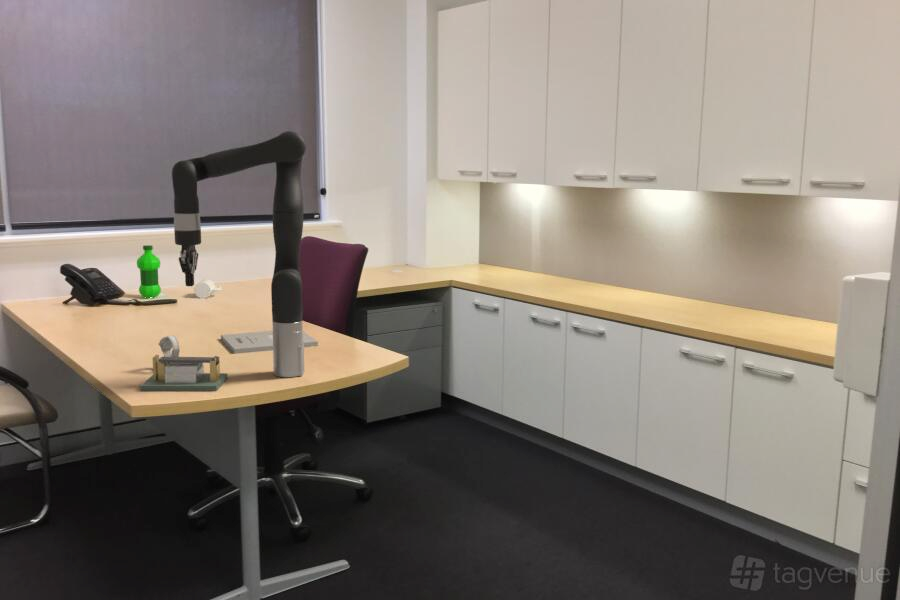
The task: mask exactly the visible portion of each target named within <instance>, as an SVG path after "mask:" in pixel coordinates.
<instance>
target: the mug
mask: <svg viewBox="0 0 900 600" xmlns="http://www.w3.org/2000/svg"><path fill="white" fill-rule="evenodd" d="M193 289H194V290H193V291H194V295H195V296H196V297H197V298H199V299H207V298H209V296H211V295H212V294H213V293H214V292H220V291H222V289H223V288H222V287H221V286H216V285H215V283H214V281H212V280H211V279H206V278H204V279H202V280H201V281H199V282H198V283H196V285H194V288H193Z"/></svg>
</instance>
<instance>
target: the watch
mask: <svg viewBox="0 0 900 600" xmlns="http://www.w3.org/2000/svg"><path fill="white" fill-rule="evenodd" d="M158 346H159V347H160V349H161V352H162V354H163V357H180V356H179V355H180V345H179V340H178V338H177V337H176V336H175V335H166V336H164V337H162V338H161V339H160V340H159V343H158ZM169 363H171V362H168V364H169Z"/></svg>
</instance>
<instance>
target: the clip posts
mask: <svg viewBox="0 0 900 600" xmlns="http://www.w3.org/2000/svg"><path fill="white" fill-rule="evenodd" d="M217 357H218V358H219V360H218V361H217V362H216V361H210V363H209V373H210V382H216V381H218V380H219V379H220V373H221V363H220V362H221V360H220V356H217ZM151 358H152V359H151V360H152V375H153V378H154V381H157V380H158V381H165V366H167V364H168V362H158V359H160V355H159V354H155V355H154V356H153V357H151Z"/></svg>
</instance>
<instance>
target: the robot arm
mask: <svg viewBox="0 0 900 600" xmlns="http://www.w3.org/2000/svg"><path fill="white" fill-rule="evenodd" d="M306 148H307V145H306V142H305V139H304V138H303V136H301V134H299V133H298V132H296V131H292V130H288V131H287V130H286V131H283V132H281V133H280V134H279V135H277V136H275V137H272V138H270V139H268V140H265V141H261V142H259V143H257V144H256V143H255V144H251V145H246V146H241V147H234V148H229V149H226V150H225V149H224V150H220V151H217V152H213V153H210V154H207V155H204V156H200V157H196V158H190V159H185V160H179V161H177V162H176V163H175V164H174V165H173V167H172V169H171V179H172V188H173V196H174V197H173V208H174V209H173V210H174V215H173V227H174V228H173V229H174V243H175V245H176V246H177V245H178V246H181V249H180V251H179V254H180V255H179V257H178V261H179V262H178V263H179V265H180V269H181V273H183V274H184V275H185V277H184V278H185V280H184V283H185V286H186V287H193V286H195V273H196V271H197V266H198V259H199V253H198V250H196V245H201V244H202V229H201V228H202V227H201V226H202V225H201V217H200V216H201V215H200V204H199V203H200V201H199V196H198V182H201V181H203V180H207V179H211V178H213V179H214V178H218V177H219V178H220V177H223V176H228V175H231V174H235V173H238V172H242V171H244V170H249V169H251V168H252V169H253V168H255V167H258V166H262V165H267V164H273V163H274V164H275V171H276V178H275V185H274V186H275V187H274V193H273V204H272V233H273V241H274V242H273V243H274V249H275V260H274V268H273V274H272V275H273V276H272V279H271V285H270V286H271V288H270V291H271V292H270V293H271V294H270V295H271V317H272V318H271V319H272V331H273V350H272V354H273V356H272V357H273V359H272V360H273V375H274V376H276V377H279V378H296V377H303V375H304V373H305V347H304V342H303V332H304V330H303V327H304V326H303V283H302V277H301V275H302V274H301V267H300V250H301V244H302V237H303V231H304V199H303V198H304V197H303V190H302V189H303V188H302V181H301V179H302V178H301V173H302V163H303V157H304V155H305V152H306V151H307V150H306Z"/></svg>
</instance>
